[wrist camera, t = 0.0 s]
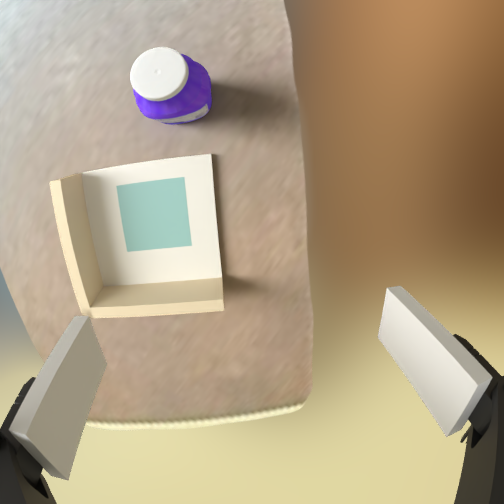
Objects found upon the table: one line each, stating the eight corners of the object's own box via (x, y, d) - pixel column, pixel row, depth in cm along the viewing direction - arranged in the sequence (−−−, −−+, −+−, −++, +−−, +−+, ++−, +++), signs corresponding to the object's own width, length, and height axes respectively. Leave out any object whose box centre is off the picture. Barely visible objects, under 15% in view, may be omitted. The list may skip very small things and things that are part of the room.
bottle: (209, 76, 32) (202, 26, 16) (215, 118, 34) (213, 98, 18) (152, 88, 32) (103, 51, 16) (158, 129, 34) (111, 121, 18)
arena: (74, 174, 34) (49, 182, 28) (211, 153, 36) (209, 156, 29) (99, 293, 41) (83, 318, 34) (223, 284, 42) (224, 310, 36)
